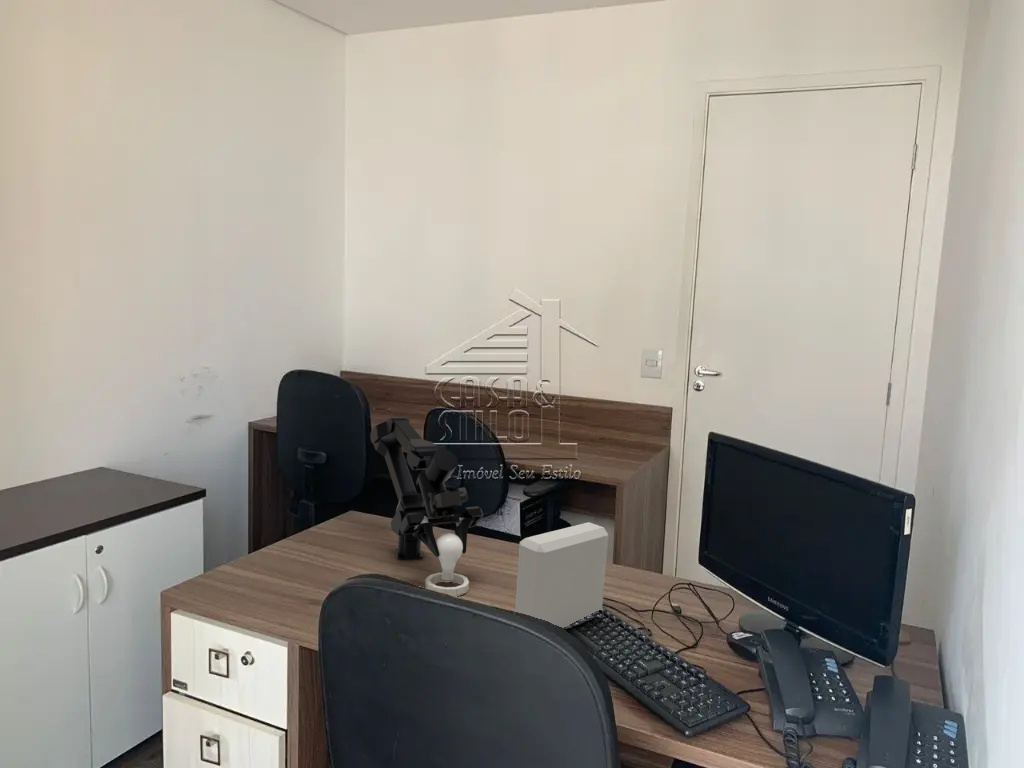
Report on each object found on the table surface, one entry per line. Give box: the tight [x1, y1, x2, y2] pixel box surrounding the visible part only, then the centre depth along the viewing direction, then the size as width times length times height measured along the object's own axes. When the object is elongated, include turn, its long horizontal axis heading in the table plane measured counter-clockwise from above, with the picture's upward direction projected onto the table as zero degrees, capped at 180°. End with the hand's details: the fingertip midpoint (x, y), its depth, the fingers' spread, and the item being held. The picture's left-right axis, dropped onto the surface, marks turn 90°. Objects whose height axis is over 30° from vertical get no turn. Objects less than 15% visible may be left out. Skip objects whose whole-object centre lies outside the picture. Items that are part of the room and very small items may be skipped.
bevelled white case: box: [514, 521, 609, 628], centre depth 154 cm, size 21×8×20 cm, turn 133°
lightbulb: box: [435, 532, 463, 581], centre depth 169 cm, size 6×6×11 cm
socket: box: [424, 572, 470, 596], centre depth 170 cm, size 10×10×2 cm
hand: (451, 554), depth 168 cm, fingers closed on lightbulb, 6 cm apart
